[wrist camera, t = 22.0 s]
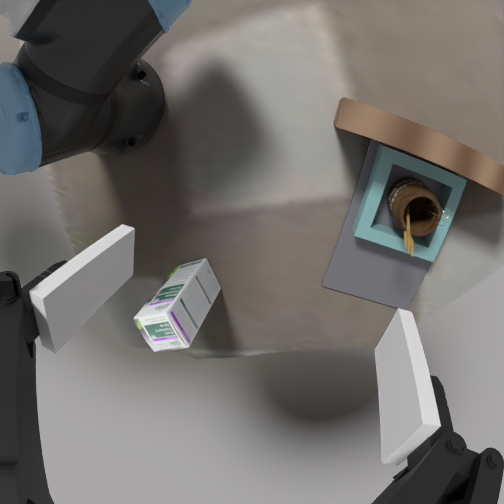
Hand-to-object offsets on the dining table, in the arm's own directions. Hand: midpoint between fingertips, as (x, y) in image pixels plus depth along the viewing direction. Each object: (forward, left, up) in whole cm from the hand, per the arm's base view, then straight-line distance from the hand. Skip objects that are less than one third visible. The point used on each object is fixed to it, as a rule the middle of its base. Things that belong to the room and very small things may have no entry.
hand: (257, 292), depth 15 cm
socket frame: (+14, +1, -29) cm, 32 cm away
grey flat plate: (+14, -4, -29) cm, 32 cm away
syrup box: (-11, -20, -29) cm, 37 cm away
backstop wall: (+14, +9, -29) cm, 33 cm away
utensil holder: (+14, +1, -28) cm, 32 cm away
